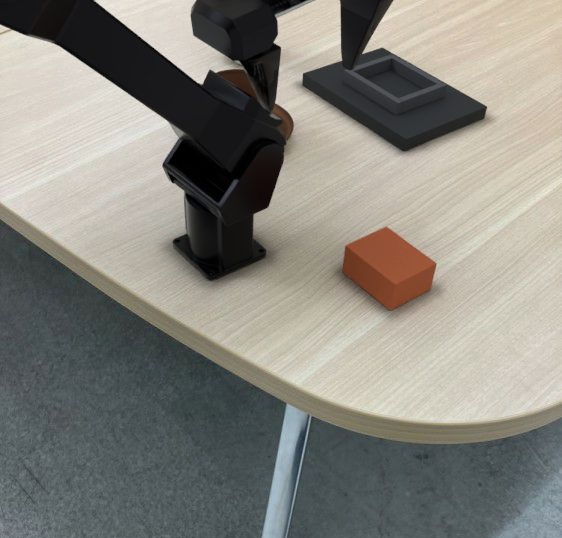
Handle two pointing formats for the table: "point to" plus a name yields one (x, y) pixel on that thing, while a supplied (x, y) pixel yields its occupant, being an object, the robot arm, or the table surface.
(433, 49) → the table surface
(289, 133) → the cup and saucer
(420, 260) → the reddish brown rectangular block
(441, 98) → the black base pad
